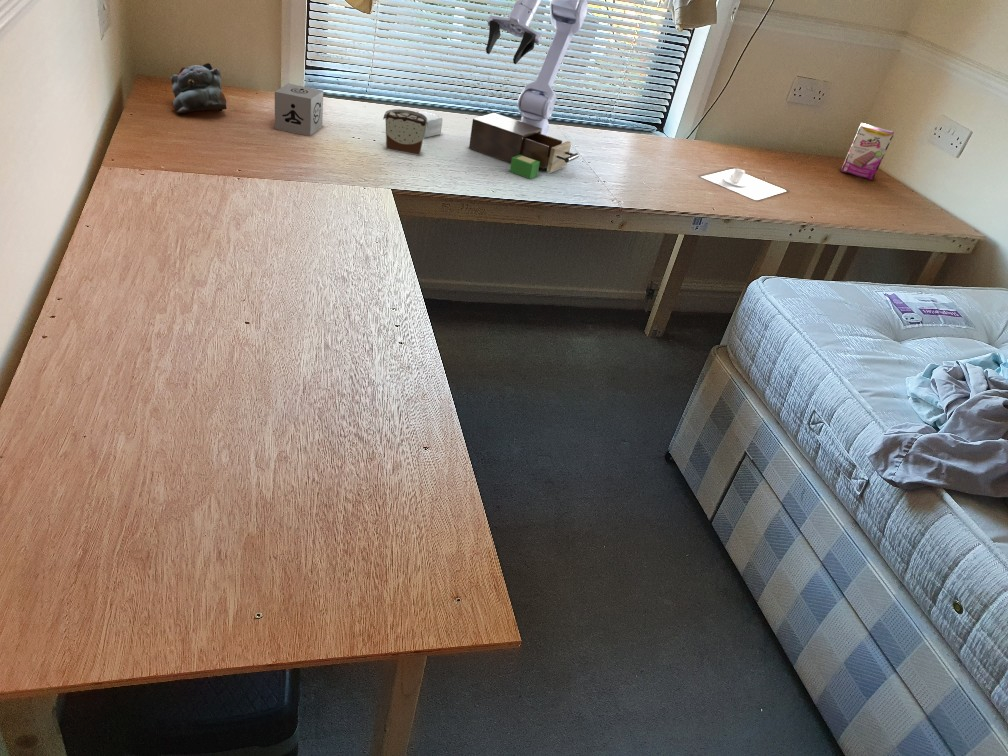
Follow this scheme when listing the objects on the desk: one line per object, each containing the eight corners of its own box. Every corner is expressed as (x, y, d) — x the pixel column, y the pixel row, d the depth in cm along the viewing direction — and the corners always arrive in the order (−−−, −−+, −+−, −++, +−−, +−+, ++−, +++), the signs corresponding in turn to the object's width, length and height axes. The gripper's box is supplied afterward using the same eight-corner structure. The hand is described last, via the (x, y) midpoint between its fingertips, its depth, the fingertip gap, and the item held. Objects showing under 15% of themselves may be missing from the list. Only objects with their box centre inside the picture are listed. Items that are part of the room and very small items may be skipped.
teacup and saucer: (732, 176, 241) (736, 163, 239) (753, 185, 237) (758, 172, 235) (717, 180, 235) (721, 167, 233) (739, 189, 231) (744, 176, 229)
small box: (421, 126, 232) (423, 109, 229) (441, 134, 229) (443, 117, 226) (404, 130, 226) (406, 113, 224) (424, 138, 223) (426, 120, 220)
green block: (517, 168, 214) (519, 154, 212) (537, 175, 212) (540, 161, 210) (509, 171, 211) (511, 157, 209) (530, 179, 209) (532, 164, 206)
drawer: (578, 169, 219) (583, 146, 216) (562, 177, 212) (567, 153, 208) (520, 149, 226) (524, 126, 222) (503, 156, 218) (507, 132, 214)
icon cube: (288, 119, 217) (288, 83, 212) (322, 126, 217) (323, 90, 212) (274, 128, 209) (274, 91, 204) (310, 136, 209) (311, 98, 203)
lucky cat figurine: (164, 114, 204) (155, 59, 202) (186, 121, 216) (178, 70, 214) (217, 107, 203) (209, 52, 201) (237, 114, 215) (228, 63, 212)
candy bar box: (840, 172, 266) (860, 125, 257) (841, 168, 270) (860, 122, 261) (873, 181, 263) (894, 133, 254) (873, 177, 267) (894, 130, 258)
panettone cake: (428, 149, 215) (432, 114, 210) (425, 156, 210) (428, 120, 205) (385, 141, 215) (388, 105, 210) (381, 148, 210) (383, 111, 204)
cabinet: (536, 157, 225) (542, 128, 220) (517, 165, 216) (522, 135, 212) (489, 141, 231) (493, 112, 226) (468, 148, 222) (472, 118, 217)
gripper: (496, -8, 194) (473, 37, 192) (548, 11, 191) (525, 57, 190) (499, 10, 201) (477, 54, 199) (549, 28, 198) (527, 73, 197)
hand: (500, 56), depth 195 cm, fingers open, 7 cm apart
